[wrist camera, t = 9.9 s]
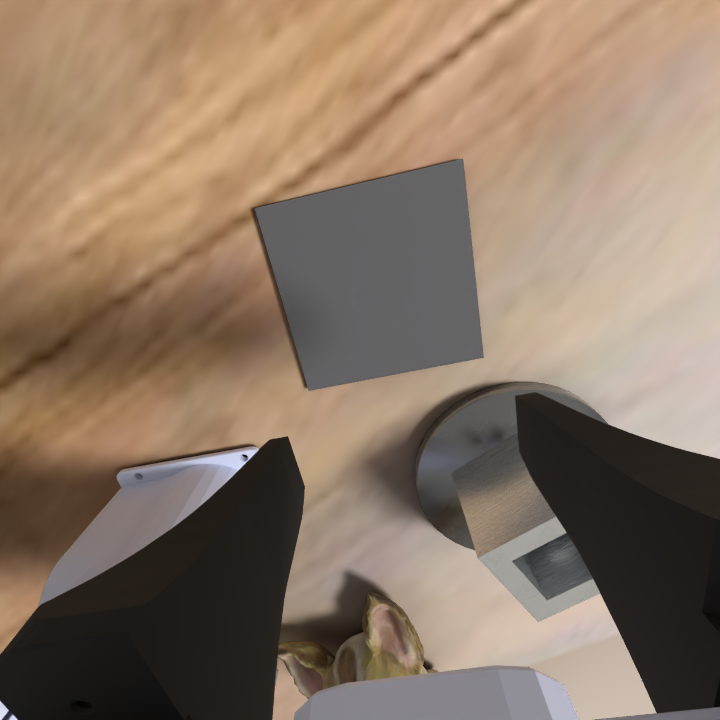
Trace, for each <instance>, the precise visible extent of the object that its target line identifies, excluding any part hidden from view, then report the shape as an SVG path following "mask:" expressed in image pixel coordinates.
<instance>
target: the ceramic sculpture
mask: <svg viewBox="0 0 720 720" xmlns="http://www.w3.org/2000/svg"><path fill="white" fill-rule="evenodd" d="M362 627H363V632H362V633H359V634H357V635H354V636H352V637H351V638H349V639H348V640H347V641H345V642H344V643H343V644H342V645H341V646H340V648H339V649H338V652H337V654H336V657H335V656H333V655H332V654H331V653H330V652H329V651H328V650H327V649H326V648H324V647H323V646H321V645H320V644H318V643H316V642H311V641H293V642H285V643H279V648H278V658H280V659H282V660H283V661H284V663H285V665H286V667H287V669H288V671H289V673H290V675H291V676H293V677H294V683H295V685H296V686H297V687H298V689H299V692H300V693H302V694H303V695H305V696H306V697H307V698H308V699H310V698H311V697H312V696H313V695H314V694H315V693H316V692H317V691H320V690H324V689H327V688H330V687H334V686H337V685H340V684H344V683H350V682H358V681H367V680H375V679H384V678H393V677H401V676H410V675H418V674H427V673H436V672H438V671H437V670H434V669H429V670H426V669H425V668H424V667H423V663H424V650H423V646H422V644H421V642H420V640H419V637H418V635H417V633H416V631H415V628H414V626H413V625H412V624H411V622H410V620H409V618H408V616H407V615H406V613H405V612H404V610H403V609H402V608H401V607H399V606H398V605H397V604H396V603H395V602H393V601H391V600H390V599H388V598H385V597H383V596H381V595H378V594H376V593H374V592H369V593H368V595H367V604H366V607H365V610H364V614H363V617H362Z"/></svg>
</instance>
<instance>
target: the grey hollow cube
mask: <svg viewBox="0 0 720 720" xmlns="http://www.w3.org/2000/svg"><path fill="white" fill-rule="evenodd" d="M451 474H452V477H453V481H454V484H455V487H456V490H457V493H458V496H459V500H460V503H461V506H462V509H463V512H464V515H465V519H466V522H467V525H468V528H469V531H470V534H471V538H472V541H473V544H474V547H475V550H476V553H477V557H478V559H479V560H480V561H481V562H482V563H483V564H484V565H485V566H486V567H487V568H488V569H489V570H490V571H491V572H492V574H493V575H494V576H495V577H496V578H497V579H498V580H499V581H500V582H501V583H502V584H503V585H504V586H505V587H506V588H507V589H508V591H509V592H510V593H511V594H512V595H513V596H514V597H515V598H516V599H517V600H518V601H519V602H520V603H521V604H522V605H523V607H524V608H525V609H526V610H527V611H528V612H529V613H530V614H531V615H532V616H533V617H534V618H535V619H536V620H537V621H538V622H539V621H541V620H544V619H546V618H548V617H550V616H552V615H554V614H557V613H559V612H561V611H563V610H565V609H567V608H570V607H572V606H574V605H576V604H578V603H580V602H583V601H585V600H587V599H589V598H591V597H593V596H596V595H598V594H600V591H599V590H598V588H597V586H596V584H595V582H594V580H593V578H592V576H591V574H590V572H589V570H588V568H587V566H586V564H585V562H584V561H583V559H582V557H581V555H580V553H579V552H578V550H577V548H576V547H575V545H574V543H573V542H572V540H571V539H570V537H569V536H568V534H567V532H566V531H565V529H564V528H563V526H562V525H561V523H560V522H559V520H558V519H557V517H556V516H555V514H554V512H553V511H552V509H551V508H550V506H549V505H548V503H547V502H546V500H545V499H544V497H543V495H542V494H541V492H540V491H539V489H538V488H537V486H536V484H535V483H534V481H533V480H532V478H531V476H530V474H529V472H528V470H527V467H526V465H525V463H524V461H523V459H522V457H521V454H520V452H519V444H518V433H516V434H514V435H513V436H511V437H509V438H508V439H506V440H504V441H503V442H501V443H499V444H498V445H496V446H494V447H493V448H491V449H490V450H488V451H486V452H485V453H483V454H481V455H480V456H478V457H476V458H475V459H473V460H471V461H470V462H468V463H466V464H465V465H463V466H462V467H460V468H458V469H457V470H455V471H453V472H452V473H451Z"/></svg>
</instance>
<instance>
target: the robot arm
mask: <svg viewBox="0 0 720 720" xmlns="http://www.w3.org/2000/svg"><path fill="white" fill-rule="evenodd" d="M515 403H516V417H517V430H518V444H519V452H520V454H521V457H522V459H523V461H524V463H525V465H526V467H527V470H528V472H529V474H530V476H531V478H532V480H533V481H534V483H535V484H536V486H537V488H538V489H539V491H540V492H541V494H542V495H543V497H544V499H545V500H546V502H547V503H548V505H549V506H550V508H551V509H552V511H553V512H554V514H555V516H556V517H557V519H558V520H559V522H560V523H561V525H562V526H563V528H564V529H565V531H566V532H567V534H568V536H569V537H570V539H571V540H572V542H573V543H574V545H575V547H576V548H577V550H578V552H579V553H580V555H581V557H582V559H583V561H584V562H585V564H586V566H587V568H588V570H589V572H590V574H591V576H592V578H593V580H594V582H595V584H596V586H597V588H598V590H599V591H600V593H601V595H602V598H603V600H604V602H605V604H606V606H607V608H608V610H609V612H610V614H611V616H612V618H613V620H614V622H615V624H616V626H617V628H618V630H619V632H620V634H621V636H622V638H623V640H624V642H625V645H626V647H627V649H628V651H629V653H630V655H631V657H632V660H633V662H634V664H635V666H636V668H637V670H638V672H639V674H640V677H641V679H642V681H643V683H644V685H645V688H646V690H647V692H648V694H649V697H650V699H651V701H652V703H653V706H654V708H655V710H656V712H657V714H646V715H636V716H626V717H616V718H606V719H596V720H720V459H717V458H713V457H709V456H705V455H701V454H697V453H693V452H689V451H685V450H682V449H678V448H674V447H671V446H668V445H665V444H661V443H658V442H655V441H652V440H649V439H646V438H643V437H640V436H637V435H634V434H631V433H629V432H626V431H623V430H621V429H618V428H616V427H613V426H611V425H608V424H606V423H603V422H601V421H599V420H596V419H594V418H592V417H589V416H587V415H585V414H583V413H580V412H578V411H576V410H574V409H572V408H570V407H567V406H565V405H563V404H561V403H559V402H557V401H555V400H553V399H550V398H548V397H546V396H544V395H542V394H539V393H537V392H533V393H528V394H522V395H516V396H515ZM242 454H245V455H247V456H248V457H247V458H246V457H243V456H242ZM138 473H140V474H141V475H142V476H141V475H139V474H138ZM116 478H117V481H118V482H119V484H120V486H121V488H120V490H119V491H118V492H117V493H116V494H115V495H114V497H113V498H112V499H111V500H110V501H109V502H108V504H107V505H106V506H105V507H104V508H103V509H102V510H101V512H100V513H99V514H98V515H97V516H96V517H95V519H94V520H93V521H92V522H91V523H90V524H89V526H88V527H87V528H86V529H85V530H84V531H83V533H82V534H81V535H80V536H79V537H78V538H77V540H76V541H75V542H74V543H73V544H72V545H71V547H70V548H69V549H68V550H67V551H66V552H65V554H64V555H63V556H62V557H61V558H60V560H59V561H58V562H57V564H56V565H55V566H54V568H53V570H52V572H51V573H50V575H49V577H48V579H47V582H46V584H45V586H44V589H43V592H42V595H41V598H40V602H39V606H38V608H37V609H36V611H35V612H34V613H33V614H32V616H31V617H30V618H29V619H28V621H27V622H26V623H25V624H24V626H23V627H22V628H21V629H20V631H19V632H18V633H17V634H16V636H15V637H14V638H13V640H12V641H11V642H10V643H9V645H8V646H7V647H6V648H5V650H4V651H3V652H2V653H1V655H0V720H272V715H273V703H274V691H275V678H276V667H277V658H278V648H279V638H280V629H281V621H282V613H283V605H284V598H285V592H286V587H287V582H288V577H289V573H290V569H291V564H292V560H293V556H294V551H295V547H296V542H297V538H298V533H299V529H300V524H301V520H302V514H303V504H304V490H305V486H304V483H303V480H302V477H301V474H300V471H299V468H298V465H297V462H296V459H295V456H294V453H293V450H292V447H291V444H290V441H289V438H288V437H282V438H276V439H271V440H269V441H268V442H267V443H265V444H264V445H263V446H262V447H261V448H260V449H258V448H257V447H245V448H240V449H234V450H229V451H223V452H217V453H212V454H206V455H201V456H195V457H189V458H184V459H178V460H172V461H167V462H161V463H156V464H150V465H144V466H139V467H133V468H128V469H123V470H121V471H120V472H119V473H118V474H117V476H116ZM294 720H579V717H578V715H577V713H576V710H575V708H574V705H573V703H572V701H571V699H570V697H569V695H568V693H567V691H566V689H565V687H564V686H563V684H562V683H560V682H559V681H557V680H555V679H553V678H551V677H549V676H547V675H544V674H542V673H540V672H538V671H536V670H534V669H532V668H530V667H517V666H487V667H479V668H470V669H461V670H453V671H444V672H436V673H427V674H418V675H410V676H401V677H393V678H384V679H375V680H367V681H358V682H350V683H344V684H340V685H337V686H334V687H330V688H327V689H324V690H320V691H317V692H316V693H315V694H314V695H313V696H312V697H311V698H310V699H309V700H308V701H307V702H306V703H305V704H304V705H303V706H302V707H301V708H300V709H298V710H297V711H296V712H295V715H294Z"/></svg>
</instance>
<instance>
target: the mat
mask: <svg viewBox="0 0 720 720" xmlns="http://www.w3.org/2000/svg"><path fill="white" fill-rule="evenodd" d="M255 211H256V214H257V218H258V221H259V224H260V228H261V231H262V235H263V238H264V241H265V245H266V248H267V252H268V255H269V258H270V262H271V265H272V268H273V272H274V275H275V279H276V282H277V285H278V289H279V292H280V296H281V299H282V302H283V306H284V309H285V312H286V316H287V319H288V323H289V326H290V329H291V333H292V336H293V340H294V343H295V346H296V350H297V353H298V356H299V360H300V363H301V367H302V370H303V373H304V377H305V380H306V383H307V387H308V390H309V391H310V390H315V389H321V388H326V387H331V386H336V385H342V384H347V383H352V382H358V381H363V380H368V379H373V378H379V377H384V376H389V375H395V374H400V373H405V372H410V371H416V370H421V369H426V368H432V367H437V366H442V365H447V364H453V363H458V362H463V361H468V360H474V359H479V358H484V356H483V346H482V337H481V327H480V317H479V307H478V298H477V288H476V278H475V269H474V259H473V249H472V240H471V230H470V220H469V211H468V201H467V191H466V181H465V172H464V162H463V159H460V160H456V161H451V162H447V163H443V164H439V165H434V166H430V167H426V168H422V169H418V170H413V171H409V172H405V173H401V174H397V175H392V176H388V177H384V178H380V179H376V180H371V181H367V182H363V183H359V184H355V185H350V186H346V187H342V188H338V189H333V190H329V191H325V192H321V193H317V194H312V195H308V196H304V197H300V198H296V199H291V200H287V201H283V202H279V203H275V204H270V205H266V206H262V207H258V208H255Z"/></svg>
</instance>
